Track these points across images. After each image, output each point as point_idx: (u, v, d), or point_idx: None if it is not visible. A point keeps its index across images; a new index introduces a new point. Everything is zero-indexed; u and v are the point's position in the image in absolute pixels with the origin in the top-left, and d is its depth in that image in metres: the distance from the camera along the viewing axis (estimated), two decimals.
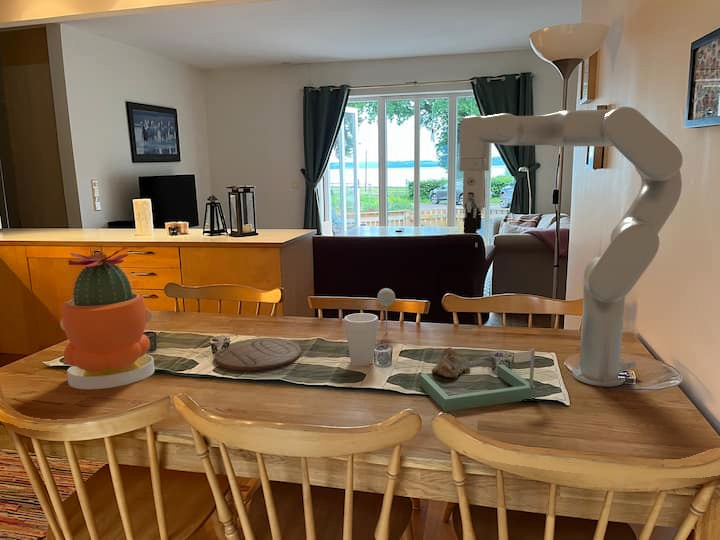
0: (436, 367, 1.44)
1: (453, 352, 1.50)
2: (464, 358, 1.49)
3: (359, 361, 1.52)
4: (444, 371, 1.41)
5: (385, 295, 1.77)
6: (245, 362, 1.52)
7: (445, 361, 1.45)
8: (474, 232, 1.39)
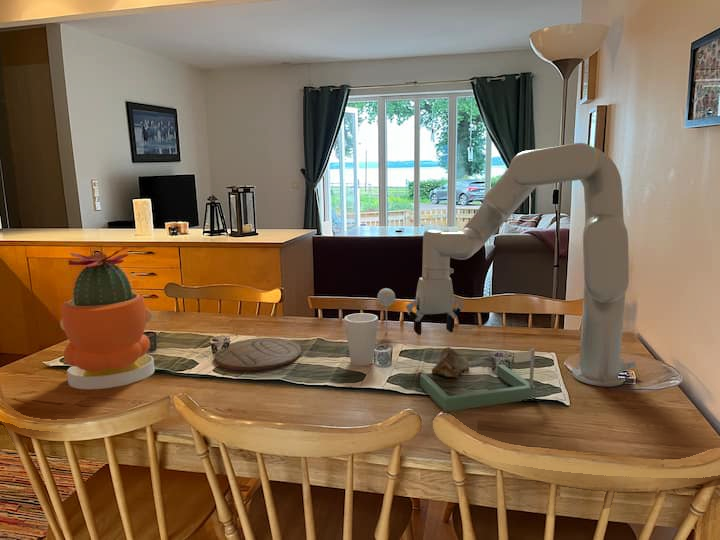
0: (436, 367, 1.44)
1: (452, 352, 1.51)
2: (463, 358, 1.50)
3: (359, 361, 1.52)
4: (444, 371, 1.41)
5: (385, 295, 1.77)
6: (245, 362, 1.52)
7: (445, 361, 1.45)
8: None
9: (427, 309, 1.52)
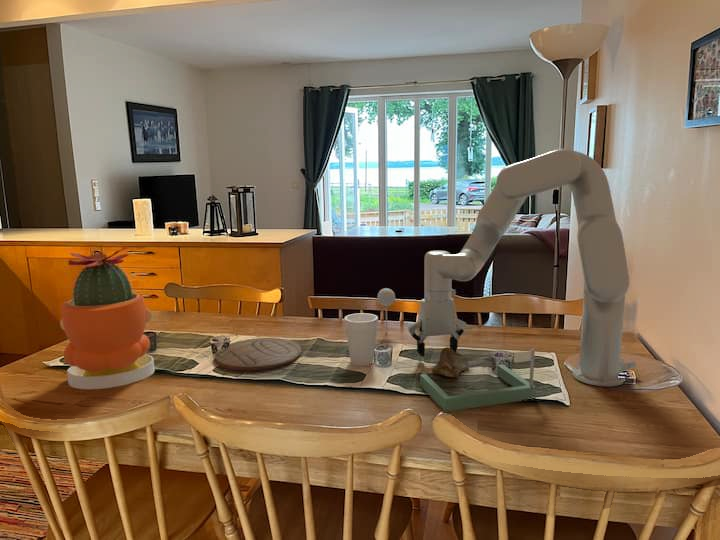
0: (436, 367, 1.44)
1: (451, 352, 1.51)
2: (463, 357, 1.50)
3: (359, 361, 1.52)
4: (445, 371, 1.41)
5: (385, 295, 1.77)
6: (245, 362, 1.52)
7: (445, 361, 1.45)
8: None
9: (430, 331, 1.51)
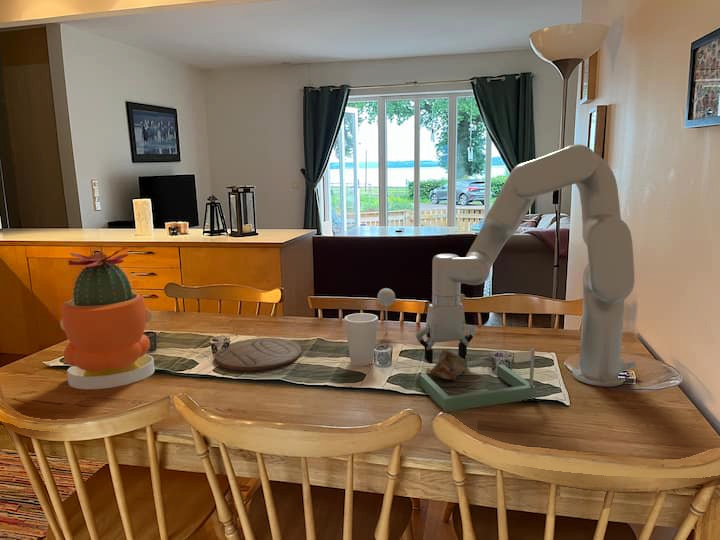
0: (434, 369, 1.43)
1: (451, 353, 1.49)
2: (462, 359, 1.48)
3: (359, 361, 1.52)
4: (442, 373, 1.39)
5: (385, 295, 1.77)
6: (245, 362, 1.52)
7: (443, 363, 1.43)
8: None
9: (438, 337, 1.46)
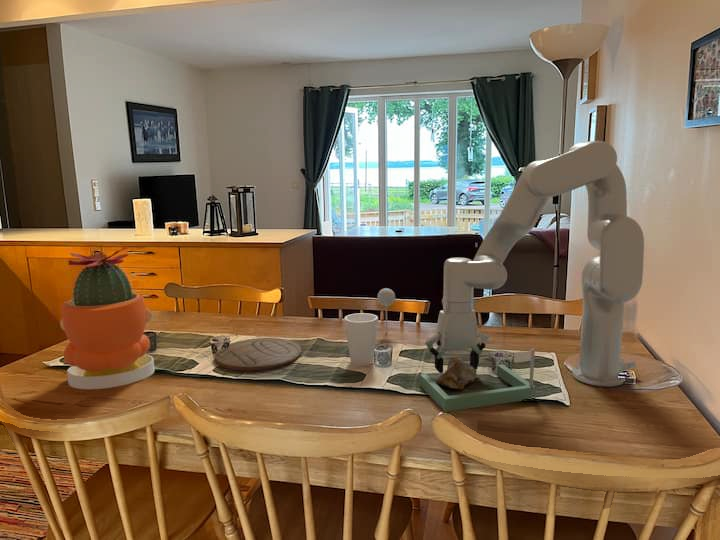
0: (441, 378, 1.37)
1: (459, 361, 1.42)
2: (471, 368, 1.41)
3: (359, 361, 1.52)
4: (449, 382, 1.33)
5: (385, 295, 1.77)
6: (245, 362, 1.52)
7: (451, 371, 1.37)
8: None
9: (449, 345, 1.39)
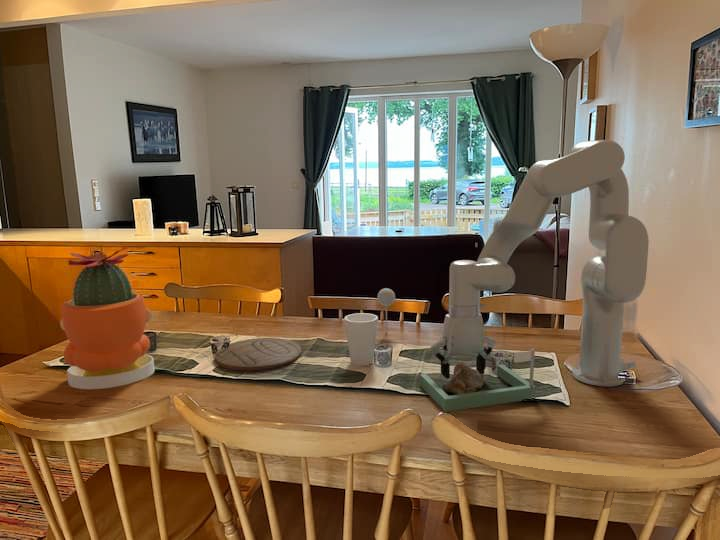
0: (448, 385, 1.33)
1: (466, 367, 1.39)
2: (478, 374, 1.38)
3: (359, 361, 1.52)
4: (457, 389, 1.29)
5: (385, 295, 1.77)
6: (245, 362, 1.52)
7: (458, 378, 1.33)
8: None
9: (456, 350, 1.35)
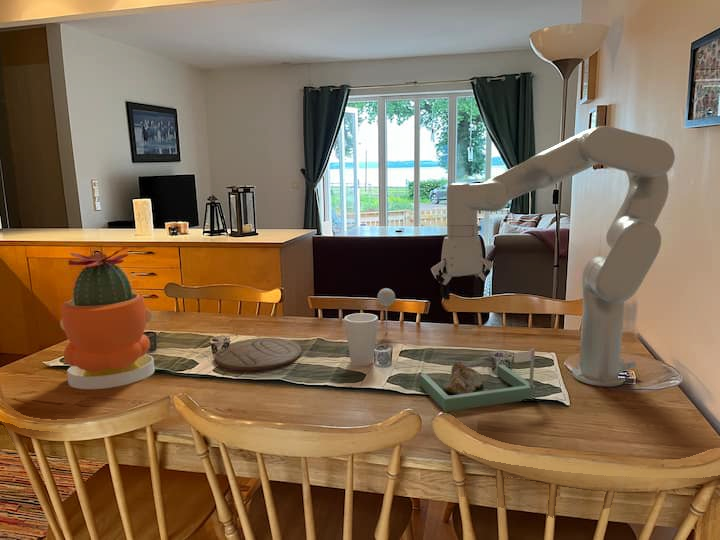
0: (448, 384, 1.33)
1: (464, 367, 1.39)
2: (476, 373, 1.38)
3: (359, 361, 1.52)
4: (458, 389, 1.29)
5: (385, 295, 1.77)
6: (246, 362, 1.52)
7: (458, 378, 1.33)
8: None
9: (455, 270, 1.38)
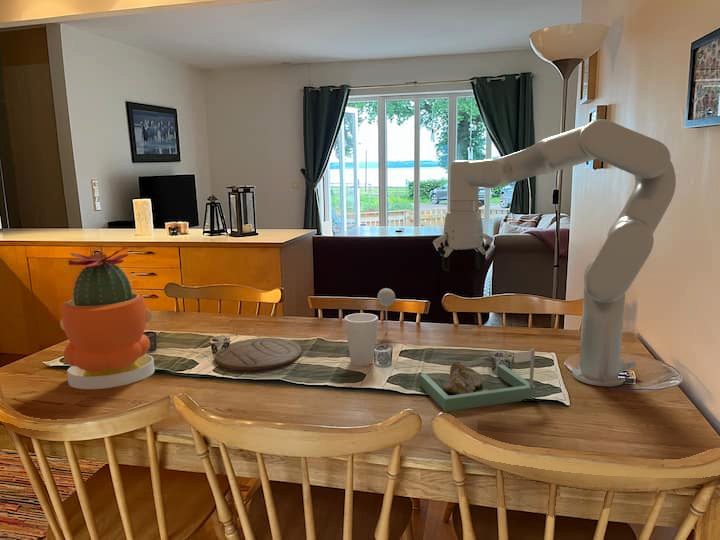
0: (448, 385, 1.33)
1: (463, 367, 1.39)
2: (475, 373, 1.39)
3: (359, 361, 1.52)
4: (459, 389, 1.29)
5: (385, 295, 1.77)
6: (246, 362, 1.52)
7: (458, 378, 1.33)
8: None
9: (456, 244, 1.45)
